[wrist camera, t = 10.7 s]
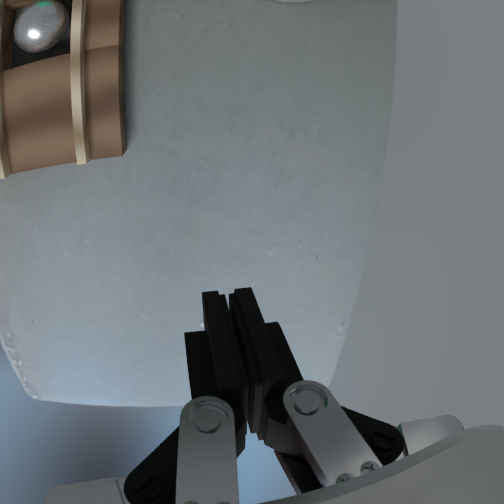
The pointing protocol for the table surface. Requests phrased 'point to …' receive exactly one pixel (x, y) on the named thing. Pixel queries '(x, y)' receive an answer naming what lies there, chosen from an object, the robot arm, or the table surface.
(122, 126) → the walnut board
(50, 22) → the steel ball
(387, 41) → the table surface
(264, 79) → the table surface
